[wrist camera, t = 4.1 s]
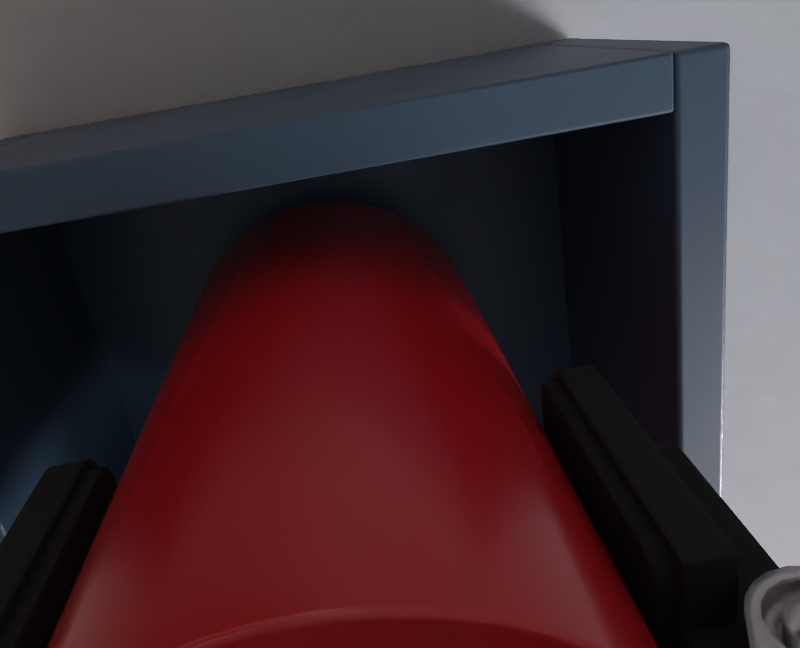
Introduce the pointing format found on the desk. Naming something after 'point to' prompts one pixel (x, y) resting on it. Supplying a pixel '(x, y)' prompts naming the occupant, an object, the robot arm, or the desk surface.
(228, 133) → the blue rectangular box
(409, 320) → the can
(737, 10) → the desk surface
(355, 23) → the desk surface
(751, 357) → the desk surface
